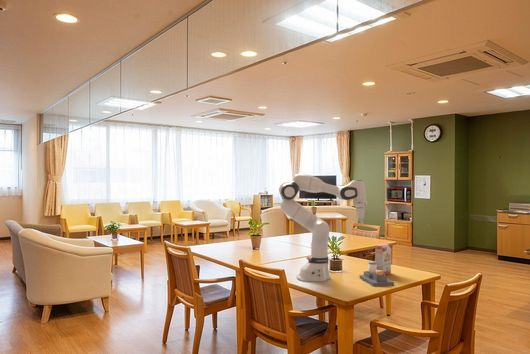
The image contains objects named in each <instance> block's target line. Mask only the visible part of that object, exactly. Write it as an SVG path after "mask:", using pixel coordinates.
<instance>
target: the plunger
mask: <svg viewBox="0 0 530 354" xmlns="http://www.w3.org/2000/svg"><path fill="white" fill-rule="evenodd" d="M376 275H377V276H383V271H382V270H376Z"/></svg>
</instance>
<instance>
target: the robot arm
mask: <svg viewBox="0 0 530 354" xmlns="http://www.w3.org/2000/svg"><path fill="white" fill-rule="evenodd" d="M366 190H367V189H366V185H365V181H363V180H361V179H352V180H351V181H350V182H349V183H348V184H346V185H345V184H342V185H333V184H330V183H327V182H324V181H323V180H322V179H320V178H319V177H316V176H315V175H314V176H313V175H310V174H305V173H297V174H295V175H294V176H293V178H292V181H290V182H284V183H282V184H281V185H280V186H279V188H278V191H279V195H280V197H281V199H282V202H281V203H280V210H281V211H282V212H283V213H284V214H285V215H286V216H287V217H289V218H290V219H292V220H293V221H294V222H296V223H297V224H299V225H301V227H303V228H304V229H306V230H307V231H309V232H310V233H311V234H312V235H311V237H312V238H311V244H310V246H311V247H310V249H311V250H310V256H309V255H308V256H306V260H307V263H305V264H304V265H302V267H301V268H300V269H299V274H296V278H297V280H299V281H302V282H326V281H327V280H329V279H331V275H330V272H329V271H330V269H329V262H330V261H329V255H328V254H329V252H328V251H329V249H328V245H329V237H330V232H331V231H330V226H329V224H328V223H327V222H326V221H324V220H323V219H321V218H320V217H319V216H317V215H315V214H314V213H313V212H312V211H310V210H308V209H307V208H305V207H304V206H303V205H302V204H300V203H299V202H297V201H296V200H295V198H296V197H297V195H298V193H299V192H300V191H304V192H307V193H313V194H317V193H327V194H329V195H334V196H335V197H337V198H338V200H339V199H340V200H344V201H350V200H352V201H353V207H354V208H355V209H356V214H357V219H358V220H359V222H360V225H361V226H364V223H365V216H366V215H365V214H366V213H365V211H366V210H365V209H366V207H367V206H368V199H367V195H366V193H367V191H366Z"/></svg>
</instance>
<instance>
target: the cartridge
mask: <svg viewBox="0 0 530 354" xmlns="http://www.w3.org/2000/svg"><path fill="white" fill-rule="evenodd" d="M376 270H377V262H375V260H374V261H373V260H370V261H368V271H369V274H376Z"/></svg>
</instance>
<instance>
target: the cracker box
mask: <svg viewBox="0 0 530 354" xmlns="http://www.w3.org/2000/svg"><path fill="white" fill-rule="evenodd" d="M374 247H375V248H374V249H375V250H374V252H375V253H374V254H375V255H374V257H375V258H374V261H375V262H377V270H382V271H383V274H384V275H386V276H387V275H390V274H391V273H392V272H391V271H392V268H391V267H392V244H391V243H387V242H382V243H380V244H379V243H378V244H376V245H375V246H374Z"/></svg>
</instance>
